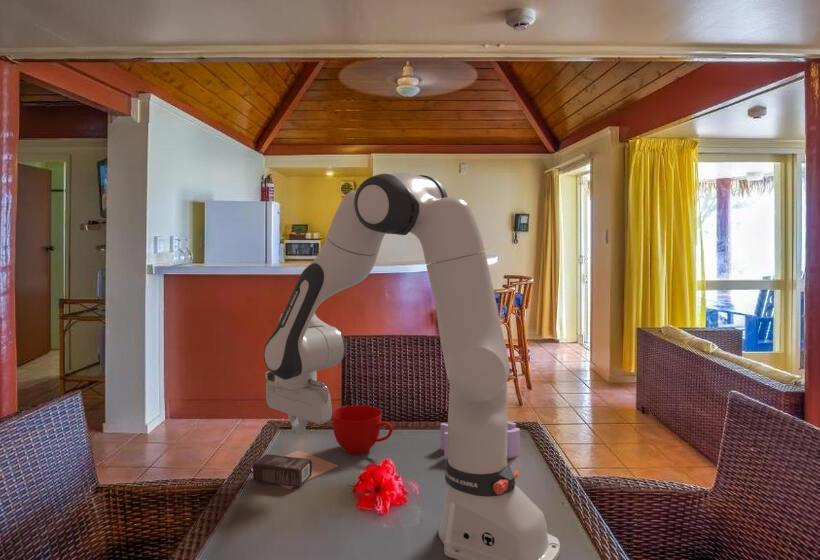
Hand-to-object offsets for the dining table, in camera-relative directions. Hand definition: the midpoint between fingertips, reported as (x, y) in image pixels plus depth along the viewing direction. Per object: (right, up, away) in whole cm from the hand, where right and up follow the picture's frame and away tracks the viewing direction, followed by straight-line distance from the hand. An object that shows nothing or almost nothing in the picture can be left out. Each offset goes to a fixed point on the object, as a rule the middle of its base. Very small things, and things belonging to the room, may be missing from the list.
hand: (298, 433), depth 126 cm
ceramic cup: (+14, -9, +14) cm, 22 cm away
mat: (-2, -9, +3) cm, 10 cm away
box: (+3, -8, -5) cm, 10 cm away
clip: (+45, -9, +13) cm, 48 cm away
